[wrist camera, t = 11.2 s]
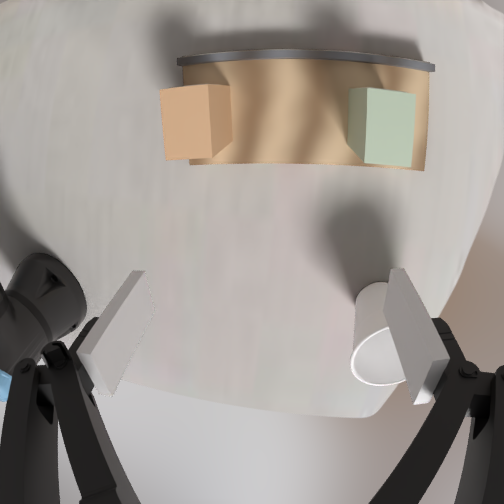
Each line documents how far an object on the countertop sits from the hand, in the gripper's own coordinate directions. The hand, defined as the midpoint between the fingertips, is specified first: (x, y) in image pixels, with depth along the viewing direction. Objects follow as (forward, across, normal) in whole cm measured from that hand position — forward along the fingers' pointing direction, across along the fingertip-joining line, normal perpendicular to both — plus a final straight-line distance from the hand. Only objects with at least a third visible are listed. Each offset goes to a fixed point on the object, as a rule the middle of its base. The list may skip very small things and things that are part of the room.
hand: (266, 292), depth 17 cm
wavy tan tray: (+21, +4, +8) cm, 23 cm away
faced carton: (+20, -6, +8) cm, 23 cm away
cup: (+21, +13, -16) cm, 30 cm away
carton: (+20, +10, +7) cm, 23 cm away
